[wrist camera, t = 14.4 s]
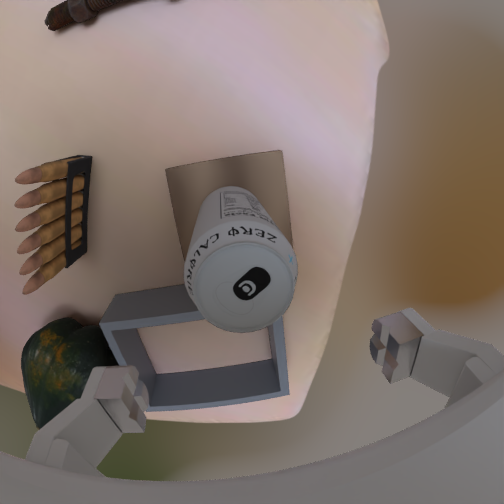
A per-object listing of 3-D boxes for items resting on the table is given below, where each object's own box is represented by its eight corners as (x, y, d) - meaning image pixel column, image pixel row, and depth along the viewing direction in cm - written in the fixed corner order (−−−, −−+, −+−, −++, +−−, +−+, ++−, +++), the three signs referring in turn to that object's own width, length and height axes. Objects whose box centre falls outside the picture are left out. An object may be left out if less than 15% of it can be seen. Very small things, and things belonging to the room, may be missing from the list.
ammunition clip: (86, 252, 28) (33, 306, 17) (73, 250, 28) (17, 301, 17) (92, 156, 25) (25, 167, 14) (77, 155, 25) (7, 166, 13)
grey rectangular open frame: (152, 379, 36) (146, 411, 30) (115, 294, 30) (98, 323, 25) (280, 362, 37) (289, 394, 31) (269, 269, 31) (280, 296, 26)
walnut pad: (189, 270, 30) (188, 276, 29) (168, 168, 26) (165, 169, 25) (290, 253, 31) (293, 258, 30) (278, 150, 27) (282, 150, 26)
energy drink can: (186, 215, 27) (154, 291, 13) (231, 171, 26) (247, 200, 12) (229, 257, 29) (242, 359, 15) (274, 216, 28) (330, 289, 14)
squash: (152, 356, 28) (27, 407, 15) (147, 425, 33) (62, 469, 20) (91, 288, 34) (-7, 313, 22) (94, 363, 39) (19, 391, 27)
